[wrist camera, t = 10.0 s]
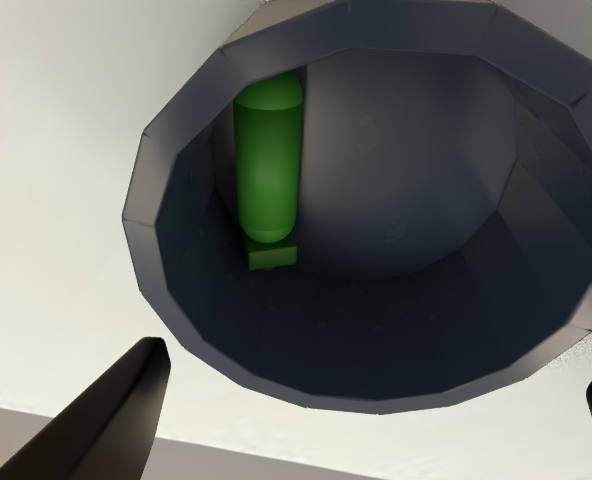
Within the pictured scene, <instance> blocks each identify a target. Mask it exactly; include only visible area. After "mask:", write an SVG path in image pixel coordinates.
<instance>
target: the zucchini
mask: <svg viewBox="0 0 592 480" xmlns="http://www.w3.org/2000/svg"><path fill="white" fill-rule="evenodd" d="M302 102H303V98H302V89H301V85H300V83H299V80H298V78H297V77H296V75H295V74H294V73H293V71H292V70H291V71H288V72H285V73H282V74H280V75H277V76H274V77H271V78H269V79H266V80H263V81H260V82H258V83H255V84H252V85H249V86H247V87H245V88H244V89H243V90H242V91H241V92H240V93H239V94H238V95H237V96H236V97H235V98H234V99H233V114H234V136H235V159H236V181H237V203H238V218H239V223H240V225H241V226H240V242H241V245H242V249H243V252H244V255H245V259H246V262H247V266H248V269H249V270H257V269H261V270H263V271H271V270H273V268H274V267H277V266H284V265H290V264H295V263H296V257H297V245H296V243H295V241H294V239H293V237H292V235H291V232H290V231H291V230H292V229H293V226H294V224H295V220H296V210H297V192H298V174H299V156H300V138H301V120H302Z"/></svg>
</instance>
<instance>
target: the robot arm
mask: <svg viewBox="0 0 592 480" xmlns="http://www.w3.org/2000/svg"><path fill="white" fill-rule="evenodd" d="M170 369H171V362H170V358H169V354H168V351H167V347H166V344H165V341H164V339H162V338H160V337H144V338H142V339H140V340H139V341H138V342H137V343H136V344H135V345H134V346H133V347H132V348H131V349H129V350H128V351H127V352H126V353H125V354H124V355H123V356H122V357H121V358H120V359H119V360H117V361H116V362H115V363H114V364H113V365H112V366H111V367H110V368H109V369H108V370H106V371H105V372H104V373H103V374H102V375H101V376H100V377H99V378H98V379H97V380H96V381H94V382H93V383H92V384H91V385H90V386H89V387H88V388H87V389H86V390H85V391H83V392H82V393H81V394H80V395H79V396H78V397H77V398H76V399H75V400H74V401H73V402H71V403H70V404H69V405H68V406H67V407H66V408H65V409H64V410H63V411H62V412H61V413H59V414H58V415H57V416H56V417H55V418H54V419H53V420H52V421H51V422H50V423H49V424H47V425H46V426H45V427H44V428H43V429H42V430H41V431H40V432H39V433H38V434H36V436H34V437H33V438H32V439H31V440H30V441H29V442H28V443H27V444H26V445H24V446H23V447H22V448H21V449H20V450H19V451H18V452H17V453H16V454H15V455H14V456H12V457H11V458H10V459H9V460H8V461H7V462H6V463H5V464H4V465H3V466H1V467H0V480H140V479H141V476H142V473H143V470H144V468H145V465H146V462H147V459H148V456H149V454H150V450H151V447H152V444H153V441H154V437H155V433H156V430H157V425H158V421H159V417H160V413H161V409H162V404H163V400H164V396H165V392H166V387H167V383H168V379H169V375H170ZM586 398H587V402H588V406H589V409H590V412H591V416H592V382H591V383H590V384H589V386H588V388H587V391H586Z"/></svg>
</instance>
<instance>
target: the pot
mask: <svg viewBox="0 0 592 480" xmlns="http://www.w3.org/2000/svg"><path fill="white" fill-rule="evenodd" d="M291 70H292V71H293V73H294V74H295V75H296V77H297V78H298V80H299V83H300V85H301V89H302V98H303V102H302V120H301V138H300V156H299V174H298V192H297V210H296V220H295V224H294V226H293V229H292V230H291V231H290V232H291V235H292V237H293V239H294V241H295V243H296V245H297V257H296V263H295V264H290V265H284V266H277V267H274V268H273V270H271V271H263V270H261V269H257V270H249V269H248V266H247V262H246V259H245V255H244V252H243V249H242V245H241V242H240V226H241V225H240V223H239V218H238V203H237V181H236V159H235V136H234V114H233V99H234V98H235V97H236V96H237V95H238V94H239V93H240V92H241V91H242V90H243V89H244V88H245V87H247V86H249V85H252V84H255V83H258V82H260V81H263V80H266V79H269V78H271V77H274V76H277V75H280V74H282V73H285V72H288V71H291ZM122 223H123V227H124V231H125V235H126V239H127V243H128V247H129V251H130V255H131V259H132V263H133V267H134V271H135V275H136V279H137V283H138V287H139V290H140V291H141V293H142V295H143V296H144V298H145V299H146V300H147V302H148V303H149V304H150V305H151V307H152V308H153V309H154V311H155V312H156V313H157V314H158V316H159V317H160V318H161V320H162V321H163V322H164V324H165V325H166V326H167V327H168V329H169V330H170V331H171V333H172V334H173V335H174V336H175V338H176V339H177V340H178V342H179V343H180V344H181V346H183V347H184V349H186V350H187V351H189V352H190V353H192V354H193V355H195V356H196V357H198V358H199V359H201V360H202V361H204V362H205V363H207V364H208V365H210V366H211V367H213V368H214V369H216V370H217V371H219V372H220V373H222V374H223V375H225V376H226V377H228V378H229V379H231V380H232V381H234V382H235V383H237V384H238V385H241V386H242V387H244V388H247V389H250V390H253V391H256V392H259V393H262V394H265V395H268V396H271V397H274V398H277V399H280V400H283V401H286V402H289V403H292V404H295V405H298V406H301V407H304V408H307V407H308V408H312V409H323V410H333V411H344V412H355V413H365V414H378V415H384V414H392V413H400V412H408V411H416V410H424V409H432V408H441V407H449V406H452V405H456V404H459V403H462V402H464V401H467V400H470V399H473V398H475V397H478V396H481V395H484V394H486V393H489V392H492V391H494V390H497V389H500V388H503V387H505V386H508V385H511V384H514V383H516V382H519V381H522V380H524V379H525V378H528V377H529V376H531V375H532V374H534V373H535V372H536V371H538V370H539V369H541V368H542V367H543V366H545V365H546V364H548V363H549V362H551V361H552V360H553V359H555V358H556V357H558V356H559V355H560V354H562V353H563V352H565V351H566V350H567V349H569V348H570V347H572V346H573V345H574V344H576V343H577V342H579V341H580V340H582V339H583V338H584V337H586V336H587V335H589V334H590V333H591V332H592V60H591V59H589V58H587V57H586V56H584V55H582V54H581V53H579V52H577V51H576V50H574V49H573V48H571V47H569V46H568V45H566V44H564V43H563V42H561V41H559V40H558V39H556V38H554V37H553V36H551V35H550V34H548V33H546V32H545V31H543V30H541V29H540V28H538V27H536V26H535V25H533V24H531V23H530V22H528V21H526V20H525V19H523V18H522V17H520V16H518V15H517V14H515V13H513V12H512V11H510V10H508V9H507V8H505V7H503V6H502V5H500V4H497V3H495V2H493V1H490V0H271V1H269V2H266V3H265V4H264V5H261V6H260V7H259V8H258V9H257V10H256V11H255V12H254V13H253V14H252V15H251V16H250V17H249V18H248V19H247V20H246V21H245V22H244V23H243V24H242V25H241V26H240V27H239V28H238V29H237V30H236V31H235V32H234V33H233V34H232V35H231V36H230V37H228V38H227V39H226V40H225V41H224V42H223V43H222V44H221V45H220V46H219V47H218V48H217V49H216V50H215V51H214V53H213V54H212V55H211V56H210V57H209V58H208V59H207V60H206V61H205V62H204V64H203V65H202V66H201V67H200V68H199V69H198V70H197V71H196V72H195V74H194V75H193V76H192V77H191V78H190V79H189V80H188V81H187V82H186V83H185V85H184V86H183V87H182V88H181V89H180V90H179V91H178V92H177V93H176V95H175V96H174V97H173V98H172V99H171V100H170V101H169V102H168V103H167V104H166V106H165V107H164V108H163V109H162V110H161V111H160V112H159V113H158V114H157V115H156V117H155V118H154V119H153V120H152V121H151V122H150V123H149V124H148V125H147V127H146V128H145V129H144V131H143V133H142V135H141V140H140V144H139V148H138V152H137V156H136V160H135V164H134V168H133V172H132V176H131V180H130V184H129V188H128V192H127V196H126V200H125V204H124V209H123V213H122Z"/></svg>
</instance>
